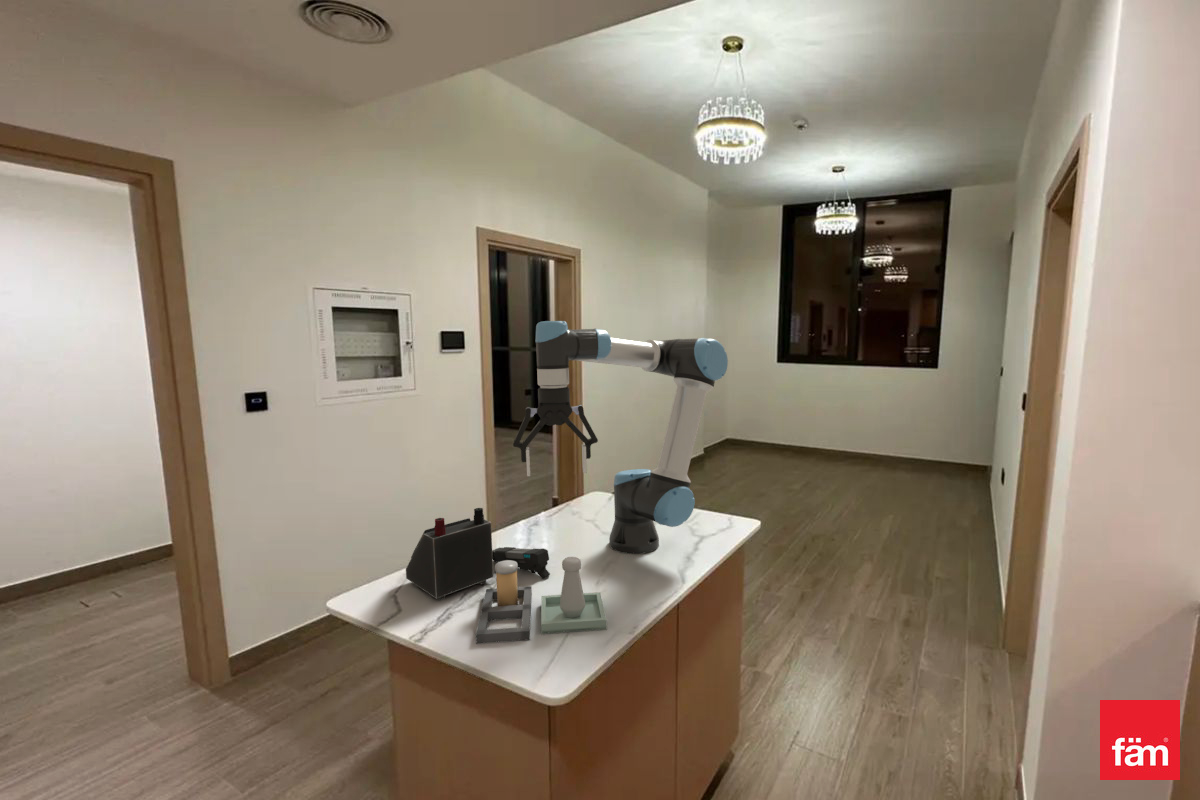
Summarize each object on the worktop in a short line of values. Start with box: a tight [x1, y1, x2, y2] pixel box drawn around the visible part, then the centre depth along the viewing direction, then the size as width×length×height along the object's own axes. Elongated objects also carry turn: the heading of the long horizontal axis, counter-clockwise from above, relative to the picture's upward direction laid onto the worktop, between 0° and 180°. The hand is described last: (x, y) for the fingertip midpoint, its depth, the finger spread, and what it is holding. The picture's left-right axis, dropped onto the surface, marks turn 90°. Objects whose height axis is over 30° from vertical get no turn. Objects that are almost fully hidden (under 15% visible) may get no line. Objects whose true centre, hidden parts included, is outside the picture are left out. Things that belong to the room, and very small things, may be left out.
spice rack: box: [475, 560, 533, 645], centre depth 122 cm, size 11×21×10 cm, turn 6°
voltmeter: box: [405, 507, 494, 601], centre depth 140 cm, size 16×16×20 cm
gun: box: [492, 546, 551, 580], centre depth 149 cm, size 4×20×10 cm, turn 51°
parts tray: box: [540, 591, 608, 635], centre depth 122 cm, size 14×13×2 cm
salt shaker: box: [560, 556, 585, 618], centre depth 122 cm, size 6×6×13 cm
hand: (556, 473), depth 131 cm, fingers open, 13 cm apart
